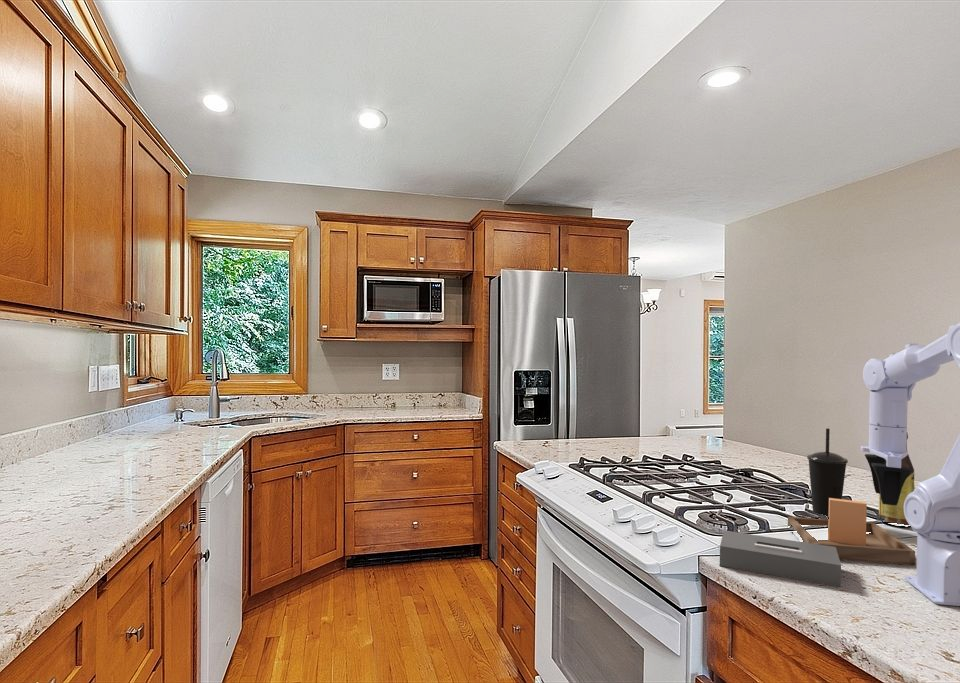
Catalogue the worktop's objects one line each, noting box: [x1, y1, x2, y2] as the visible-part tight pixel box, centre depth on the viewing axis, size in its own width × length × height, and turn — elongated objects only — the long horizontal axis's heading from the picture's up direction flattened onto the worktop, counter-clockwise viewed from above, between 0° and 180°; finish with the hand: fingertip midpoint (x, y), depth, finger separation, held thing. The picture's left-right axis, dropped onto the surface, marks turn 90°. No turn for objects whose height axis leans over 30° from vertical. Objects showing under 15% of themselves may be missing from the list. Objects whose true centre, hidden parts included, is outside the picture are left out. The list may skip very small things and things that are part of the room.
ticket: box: [828, 498, 868, 546], centre depth 112 cm, size 6×2×8 cm, turn 64°
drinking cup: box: [806, 428, 849, 517], centre depth 127 cm, size 8×8×20 cm
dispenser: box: [719, 530, 842, 588], centre depth 102 cm, size 18×9×4 cm, turn 63°
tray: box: [787, 516, 916, 566], centre depth 112 cm, size 16×16×2 cm
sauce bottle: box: [878, 432, 916, 525], centre depth 126 cm, size 7×6×20 cm
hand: (885, 498), depth 107 cm, fingers open, 7 cm apart
